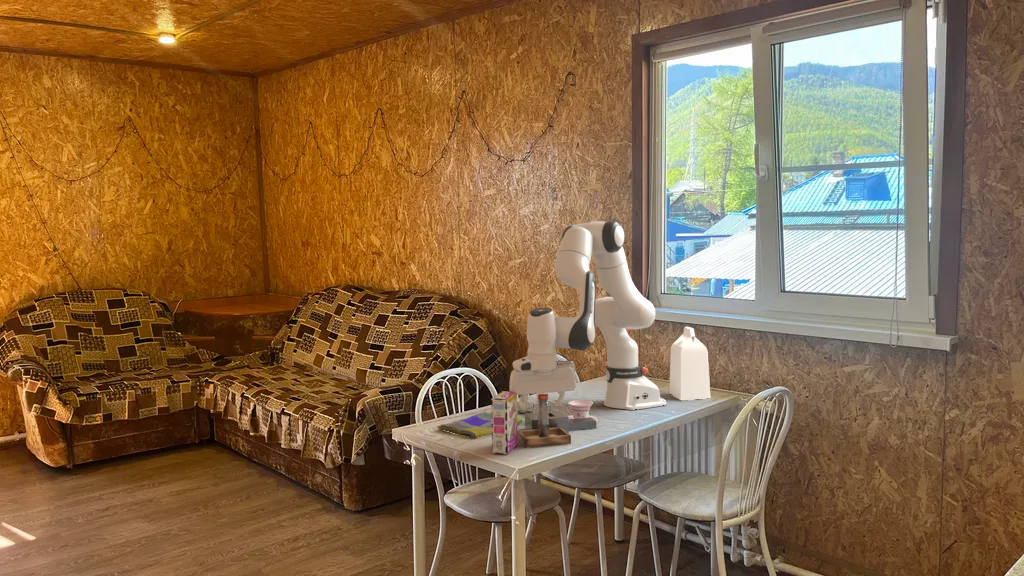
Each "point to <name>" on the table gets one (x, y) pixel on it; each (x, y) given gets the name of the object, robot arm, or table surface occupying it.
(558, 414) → the hitch block
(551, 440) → the tray
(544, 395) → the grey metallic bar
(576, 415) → the teacup
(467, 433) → the dish towel
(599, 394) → the table surface
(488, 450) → the table surface
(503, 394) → the candy bar box
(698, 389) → the milk
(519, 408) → the valve
